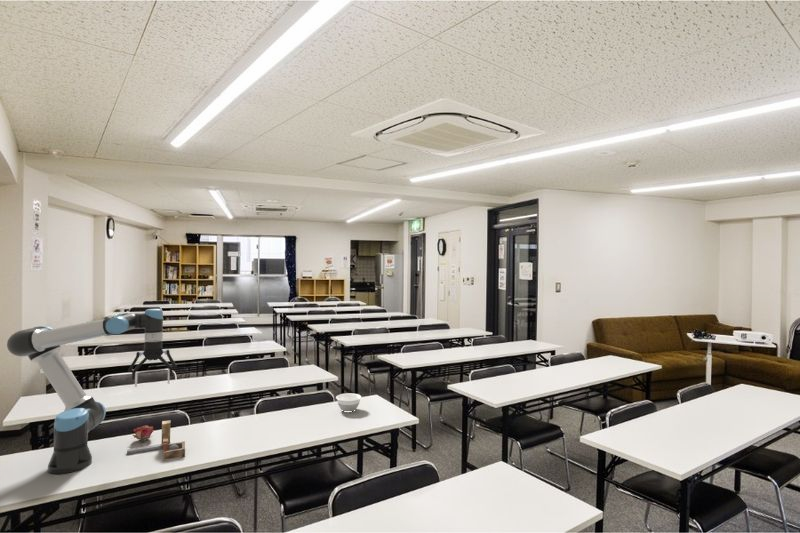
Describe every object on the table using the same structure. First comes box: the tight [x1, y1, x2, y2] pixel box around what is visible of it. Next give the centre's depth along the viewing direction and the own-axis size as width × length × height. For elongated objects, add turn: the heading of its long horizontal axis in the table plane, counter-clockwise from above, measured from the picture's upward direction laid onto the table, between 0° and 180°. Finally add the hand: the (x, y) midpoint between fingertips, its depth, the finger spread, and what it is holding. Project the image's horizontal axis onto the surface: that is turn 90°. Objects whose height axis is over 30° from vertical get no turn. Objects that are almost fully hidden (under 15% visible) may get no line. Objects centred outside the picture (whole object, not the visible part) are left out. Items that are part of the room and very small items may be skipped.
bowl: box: [335, 392, 362, 411], centre depth 260 cm, size 16×16×8 cm
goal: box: [162, 440, 186, 461], centre depth 194 cm, size 9×10×4 cm
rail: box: [126, 442, 172, 455], centre depth 199 cm, size 18×2×2 cm, turn 118°
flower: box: [132, 424, 155, 444], centre depth 209 cm, size 10×9×8 cm
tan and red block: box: [160, 419, 172, 452], centre depth 198 cm, size 4×14×12 cm, turn 28°
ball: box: [168, 444, 179, 451], centre depth 194 cm, size 4×4×4 cm
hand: (152, 384), depth 201 cm, fingers open, 13 cm apart
